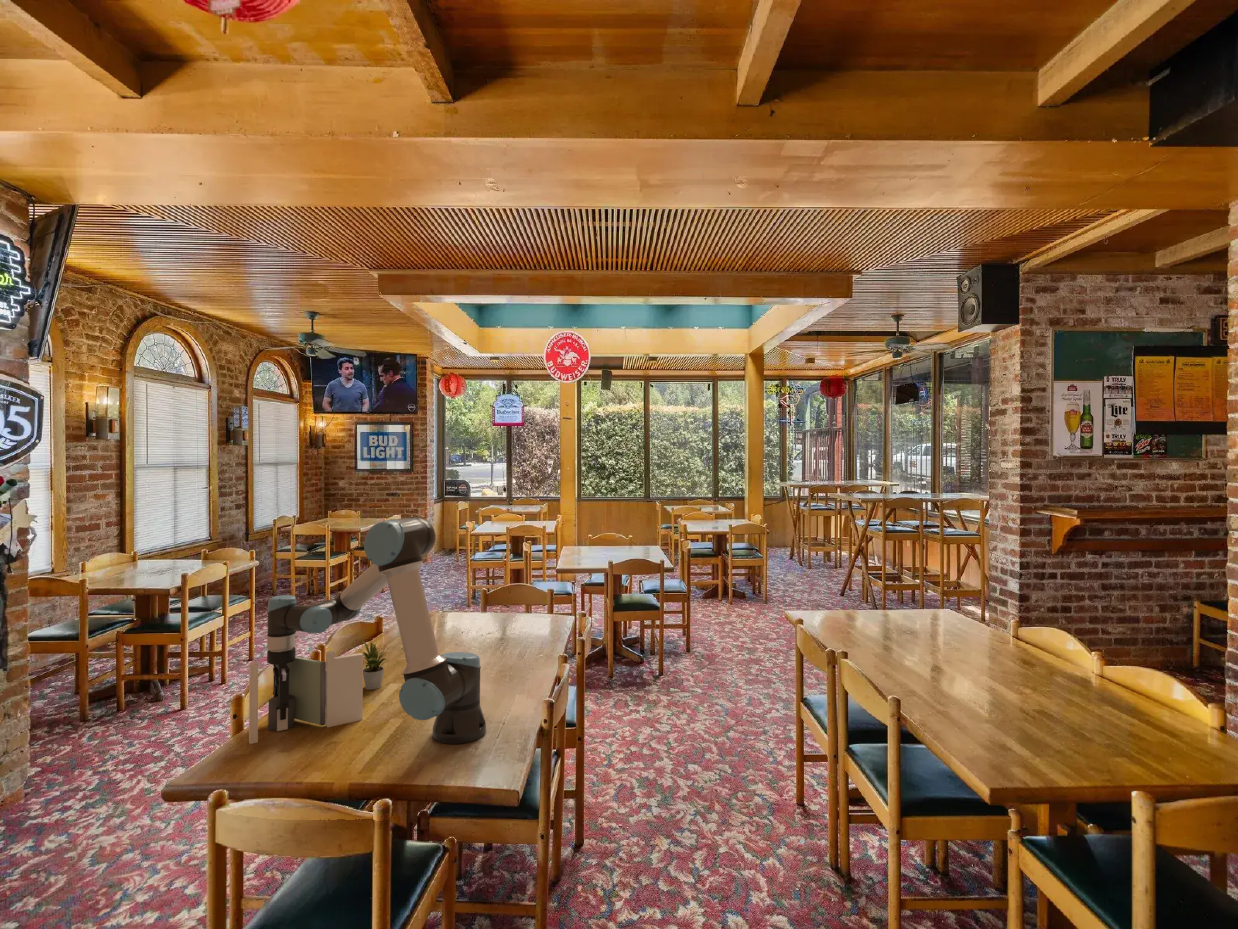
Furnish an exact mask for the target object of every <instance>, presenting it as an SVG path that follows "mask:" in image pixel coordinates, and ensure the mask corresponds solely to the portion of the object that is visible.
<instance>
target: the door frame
mask: <svg viewBox="0 0 1238 929" xmlns="http://www.w3.org/2000/svg"><path fill="white" fill-rule="evenodd" d="M362 653H363V652H360V653H359V652H358V653H352V654H347V655H339V656H335V654H336V651H334V650H330V651H326V652H325V662H326V724H325V726H326V728H331V727H335V726H341V725H345V724H351V723H355V722H359V721H363V718H364V717H363V716H364V714H363V706H364V705H363V702H364V700H363V698H364V697H363V696H364V694H363V691H364V687H363V686H364V684H363V681H364V676H363V667H364V665H363V663H364V658H363V656H364V653H363V654H362ZM248 667H249V668H248V670H249V671H248V672H249V673H248V674H249V675H248V680H249V682H248V686H249V687H248V690H249V691H248V693H249V695H248V698H249V699H248V743H249V745H252V744H257V743H259V662H258V661H257V662H252V663H251V662H250V663H249V665H248Z"/></svg>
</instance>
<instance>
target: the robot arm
mask: <svg viewBox="0 0 1238 929" xmlns="http://www.w3.org/2000/svg"><path fill="white" fill-rule="evenodd" d="M436 538H437V535H436V531H435V528H434V526H433V525H432V523H430V522H429V521H428V520H427V519H424V518H422V517H416V516H412V517H411V516H410V517H403V518H394V519H391V518H390V519H386V520H383V521H379V522H377V523H375V524H374V525H372V526H371V527H370V528H369V530H368V531H367V533H366V534H365V538H364V543H363V548H364V550H363V551H364V554H365V556H366V558H367V559H368V561H370V562H371V565H370V566H369V567H368V568H367V569H366V570H364V572H362V573H361V574H360V575H359V576H358V577H357V578H356V579H354V580H353V581H352V582H351V583H350V584H348V586H347V587H345V589H343V590H342V591H341V592H340V593H339V594H338V595H336V597H334V598H332V599H329V600H328V599H327V600H325V601H320V602H317V603H313V604H309V605H306V604H305V605H304V604H298V601H297V597H296V596H294V595H291V594H282V595H277V596H273V597H271V598H269V600H268V602H267V610H266V613H267V634H266V649H267V651H266V662H267V664H269V665H272V666H273V668H272V672H273V688H272V689H273V691H272V695H273V697H276V696H278V707H277V708H275V709H276V710H277V732H280V731H285V730H286V731H287V730H289V729H288V707H289V676H290V674H289V673H290V670H289V668H288V666H287V664H288V663H289V662H293V661H294V660H295V658H296V657H297V656H296V653H297V652H296V647H295V646H296V639H298V638H299V636H298V635H297V634H296V632H300V633H301V632H304V633H307V634H322V633H325V632H326V631H327V630H328V629H329V628H331V627H330V626H332V625H336V624H339V623H343V622H348V621H350V620H352V619H353V618H357V617H358V615H359V614H360V613H361V610H362V607H363V606H364V605H366V603H368V601H371V599H373V598H374V597H375V596H376V595H377V594H378V593H379V592H381V591H382V590H383V589H384V588H385V587H387V585H388V588H389V594H390V597H391V602H392V606H393V610H394V615H395V619H396V623H397V628H398V631H399V635H400V641H401V644H402V648H403V653H404V657H405V661H406V666H405V667H404V669H403V670H402V676H403V679H404V683H402V685H401V686H400V690H399V692H398V698H399V700H398V701H399V703H400V706H401V707H402V709H403V711H404V713H406V714H407V715H408V716H410V717H412V719H414V720H417V721H427V720H431V719H433V718H435V719H434V722H433V725H432V739H433V740H434V741H435V742H438V743H441V744H447V745H458V744H459V745H460V744H467V743H470V742H473V741H474V742H475V741H477V740H479V739H480V738H482V737H483V736H484V735H485V734H486V733H487V723H486V722H487V721H486V719H485V716H484V713H483V710H482V708H481V668H482V667H481V659H480V656H479V655H478V654H475V653H473V652H466V651H465V652H463V651H461V652H460V651H453V652H446V653H442V654H440V652H439V648H438V644H437V640H436V637H435V631H434V628H433V624H432V618H431V614H430V610H429V608H428V603H427V599H426V595H425V594H426V593H425V590H424V586H423V582H422V579H421V578H422V577H421V574H420V567H421V566H422V564H423V561H424V560H423V558H425V557H426V556H427V555H428V554H429V553H430V552H431V551H432V550H433V548H434V546H435V543H436V540H437V539H436Z"/></svg>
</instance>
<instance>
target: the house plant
mask: <svg viewBox="0 0 1238 929" xmlns="http://www.w3.org/2000/svg"><path fill="white" fill-rule="evenodd" d="M361 642H362V643H363V644H364V646H365V649H366V651H367V652H366V651H363V650H359V652H358V653H362V654H363V656H364V657H363V659H364V660H366V661H364V662H363V663H364V664H363V667H365V668H364V669H363V681H364V685H365V686H364V687H365V690H369V691H370V690H371V691H372V690H373V691H374V690H377V689H380V688H381V687H382V684H383V678H384V673H385V667H384V666H383V665H384V664H385V663H386V662H391V659H390V660H387V658H382V657H384V656H385V653H384V652H385V651H384V650H385V649H386V647H387V645H388V644H386V645H385V647H384V648H383V650H382V651H381V652H380V654H379V650H377V647H376V645H377V642H376V643H373V641H370V644H369V646H368V644H367V643H366V642H365V641H361ZM392 647H393V645H392V646H390V647H388V649H389V648H392ZM351 648H352V649H353V648H354V649H355V646H354V647H353V646H351V647H350V649H351ZM385 660H386V661H385ZM383 661H385V662H383Z"/></svg>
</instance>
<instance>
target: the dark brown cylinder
mask: <svg viewBox="0 0 1238 929" xmlns="http://www.w3.org/2000/svg"><path fill="white" fill-rule="evenodd" d="M277 707H278V696H276V697H274V696H273V697H271V698H270V699H269V700H268V711H267V729H268V730H269V731H271V732H272V731H274V732H276V731H277V710H276V709H275V708H277ZM295 720H296V719H295V696H292V695H289V707H288V729H287V730H289V729H291V728H293V727H294V726H295V722H296V721H295ZM277 732H278V731H277Z"/></svg>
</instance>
